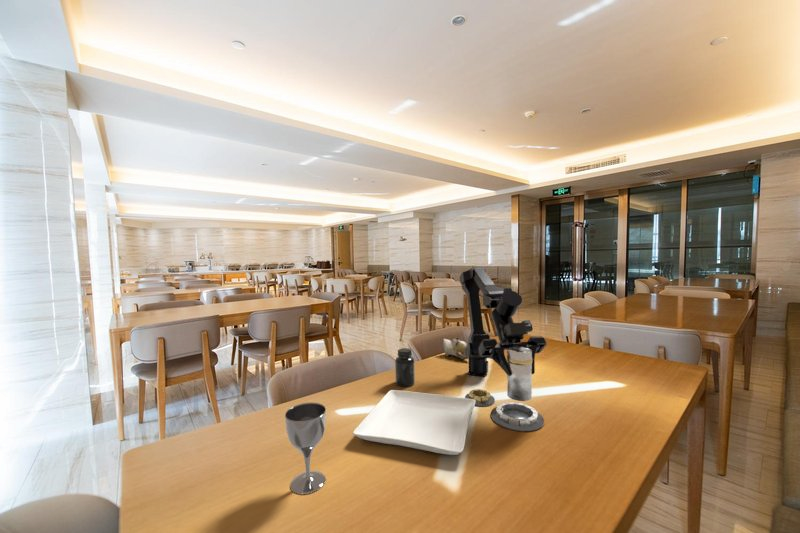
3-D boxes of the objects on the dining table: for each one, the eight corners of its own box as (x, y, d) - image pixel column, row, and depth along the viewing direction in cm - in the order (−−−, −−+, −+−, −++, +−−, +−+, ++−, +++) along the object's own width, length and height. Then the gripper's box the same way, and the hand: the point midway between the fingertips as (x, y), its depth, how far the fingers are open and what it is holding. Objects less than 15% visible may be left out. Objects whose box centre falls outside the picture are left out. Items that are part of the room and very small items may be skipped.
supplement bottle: (410, 378, 123) (410, 346, 123) (417, 385, 117) (417, 351, 116) (393, 381, 121) (392, 348, 120) (399, 388, 115) (398, 354, 114)
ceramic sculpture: (448, 332, 155) (479, 338, 147) (448, 350, 156) (478, 357, 147) (438, 337, 146) (470, 344, 138) (437, 356, 147) (469, 365, 139)
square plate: (476, 410, 99) (476, 397, 99) (462, 468, 73) (462, 451, 73) (390, 398, 108) (390, 387, 107) (351, 446, 82) (350, 431, 82)
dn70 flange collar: (485, 424, 90) (485, 417, 90) (496, 402, 103) (495, 396, 103) (542, 436, 84) (542, 428, 84) (545, 412, 96) (545, 405, 96)
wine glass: (292, 470, 73) (290, 403, 72) (330, 468, 73) (328, 401, 72) (283, 498, 65) (280, 422, 64) (325, 494, 65) (322, 419, 65)
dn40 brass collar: (461, 402, 103) (461, 396, 103) (469, 391, 111) (469, 385, 111) (491, 408, 99) (491, 402, 99) (497, 396, 107) (497, 390, 107)
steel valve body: (501, 395, 94) (501, 349, 93) (514, 388, 98) (514, 344, 97) (524, 403, 88) (524, 355, 88) (536, 396, 93) (537, 350, 92)
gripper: (481, 311, 95) (497, 363, 84) (543, 309, 97) (566, 359, 86) (472, 331, 103) (485, 381, 93) (530, 329, 105) (549, 377, 95)
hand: (521, 374), depth 91 cm, fingers closed on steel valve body, 6 cm apart
